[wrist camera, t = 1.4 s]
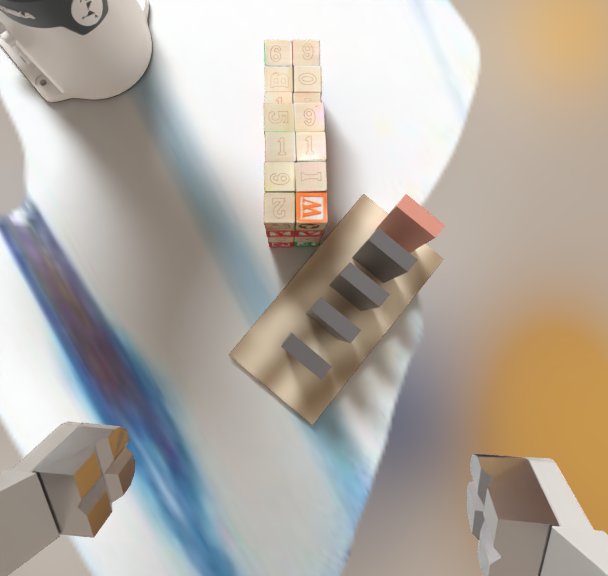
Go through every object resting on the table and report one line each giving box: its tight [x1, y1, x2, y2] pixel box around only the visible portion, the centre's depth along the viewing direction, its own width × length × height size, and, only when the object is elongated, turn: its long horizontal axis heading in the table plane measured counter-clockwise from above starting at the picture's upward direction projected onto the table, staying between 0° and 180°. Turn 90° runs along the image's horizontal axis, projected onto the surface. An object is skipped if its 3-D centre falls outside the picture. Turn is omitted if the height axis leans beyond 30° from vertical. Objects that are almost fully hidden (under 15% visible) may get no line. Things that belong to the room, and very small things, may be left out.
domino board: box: [229, 194, 444, 425], centre depth 49 cm, size 13×26×1 cm, turn 141°
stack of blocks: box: [264, 40, 328, 247], centre depth 45 cm, size 21×6×12 cm, turn 1°
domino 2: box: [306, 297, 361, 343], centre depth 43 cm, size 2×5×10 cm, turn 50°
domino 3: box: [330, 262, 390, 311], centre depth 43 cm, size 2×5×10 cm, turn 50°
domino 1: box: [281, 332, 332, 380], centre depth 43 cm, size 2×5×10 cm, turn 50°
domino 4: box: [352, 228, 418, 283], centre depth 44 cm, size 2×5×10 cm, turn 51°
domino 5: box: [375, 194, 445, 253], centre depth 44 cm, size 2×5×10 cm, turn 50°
